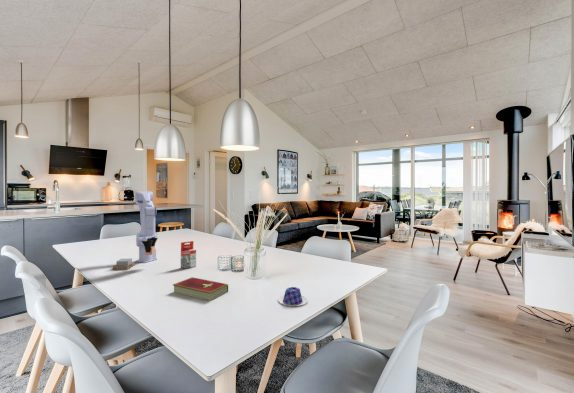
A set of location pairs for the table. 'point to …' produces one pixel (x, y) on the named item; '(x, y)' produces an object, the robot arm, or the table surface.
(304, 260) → the table surface
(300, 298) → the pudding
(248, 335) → the table surface
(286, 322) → the table surface
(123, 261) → the top block
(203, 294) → the hardcover book
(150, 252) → the cube
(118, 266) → the base block
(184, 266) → the ink box
